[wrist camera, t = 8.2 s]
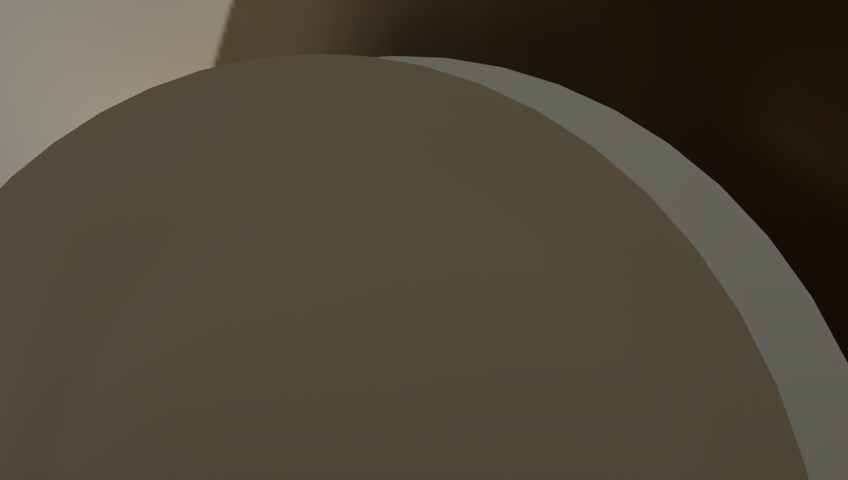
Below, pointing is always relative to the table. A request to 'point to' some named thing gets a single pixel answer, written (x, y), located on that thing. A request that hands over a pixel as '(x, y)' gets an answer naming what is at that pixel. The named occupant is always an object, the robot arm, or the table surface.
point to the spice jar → (397, 291)
